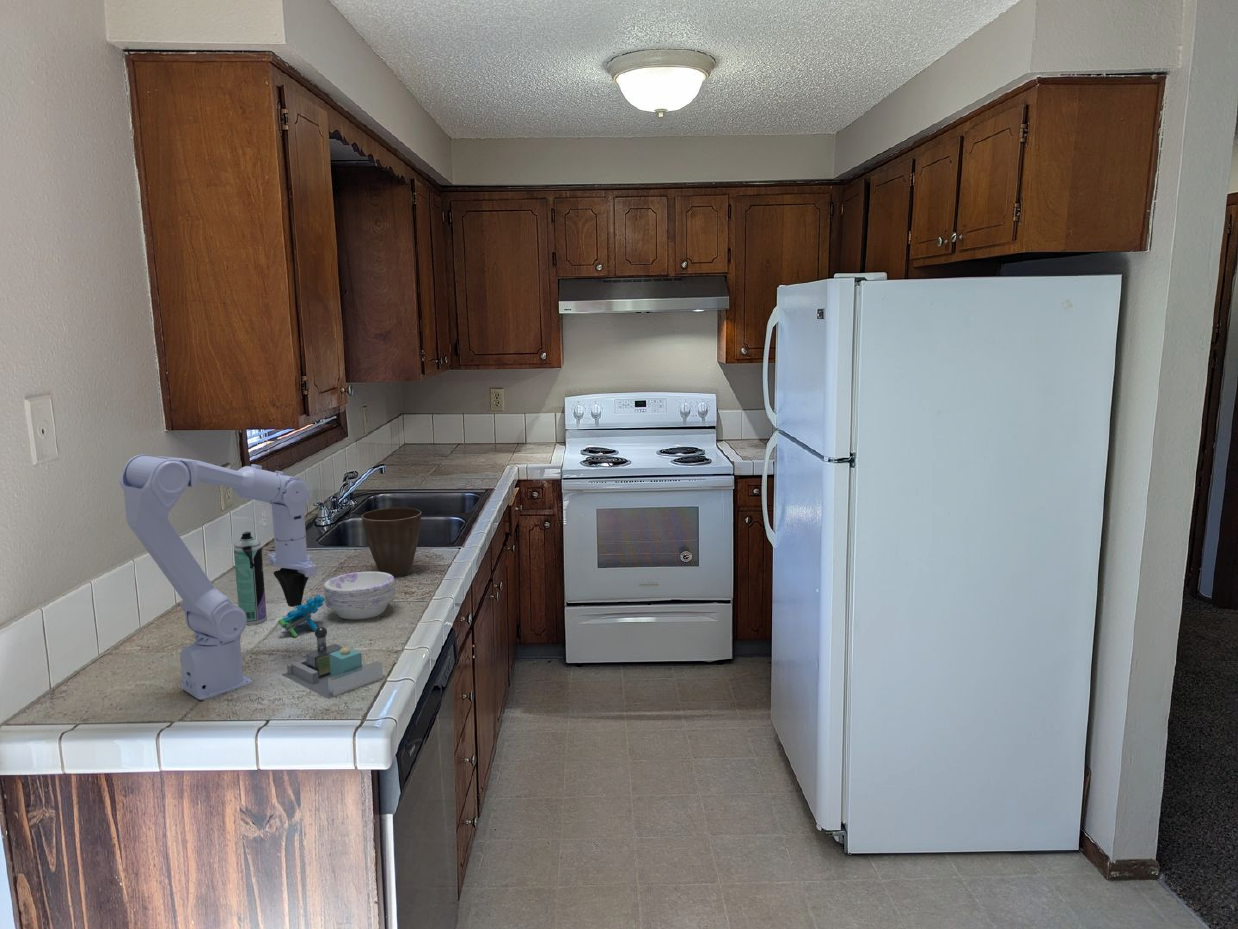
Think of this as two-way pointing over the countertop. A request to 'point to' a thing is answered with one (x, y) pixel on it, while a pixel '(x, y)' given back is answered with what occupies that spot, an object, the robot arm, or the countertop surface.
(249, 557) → the spray can
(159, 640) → the countertop surface
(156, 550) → the robot arm
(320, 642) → the block
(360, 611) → the paper bowls
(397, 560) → the plant pot
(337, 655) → the block
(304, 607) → the blue toy water gun
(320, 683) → the base
